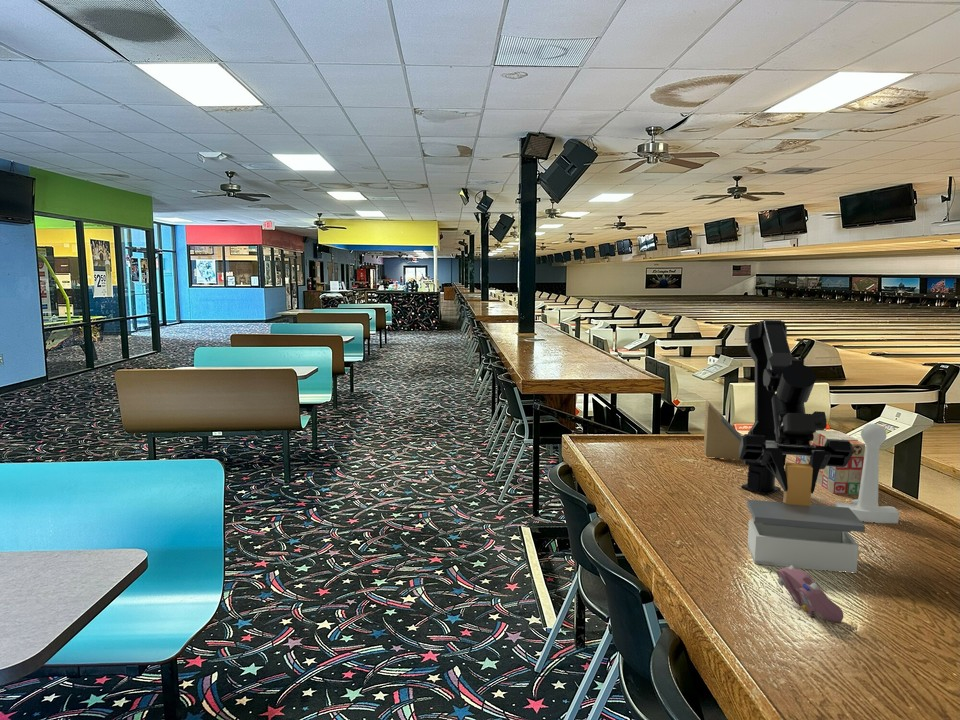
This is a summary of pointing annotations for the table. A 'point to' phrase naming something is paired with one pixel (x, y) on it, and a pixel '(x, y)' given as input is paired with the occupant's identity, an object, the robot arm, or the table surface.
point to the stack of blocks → (839, 477)
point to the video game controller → (808, 594)
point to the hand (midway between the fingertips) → (799, 491)
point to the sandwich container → (720, 436)
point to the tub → (802, 547)
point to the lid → (803, 506)
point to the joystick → (871, 481)
